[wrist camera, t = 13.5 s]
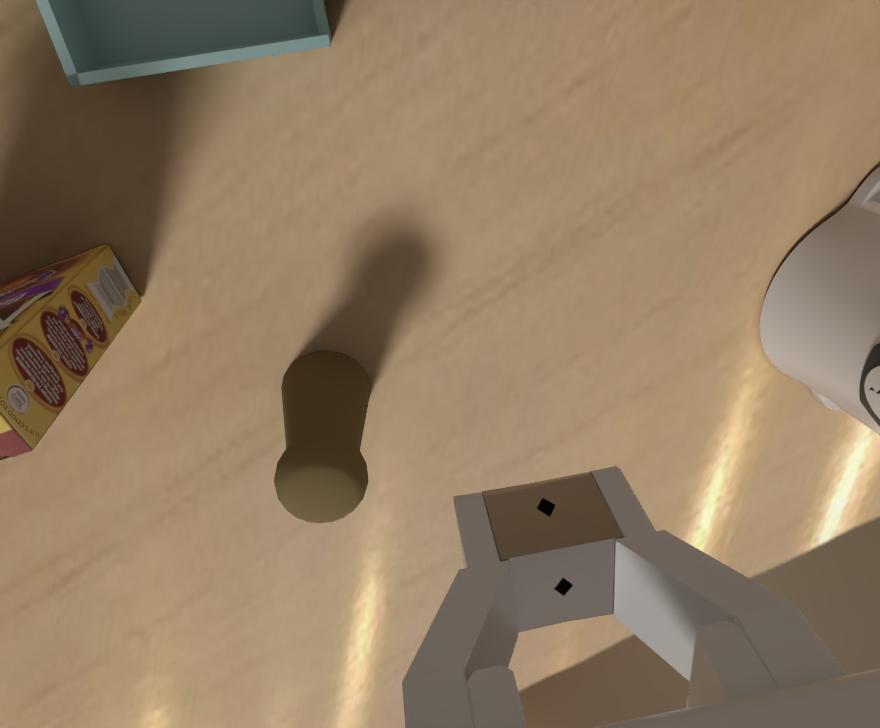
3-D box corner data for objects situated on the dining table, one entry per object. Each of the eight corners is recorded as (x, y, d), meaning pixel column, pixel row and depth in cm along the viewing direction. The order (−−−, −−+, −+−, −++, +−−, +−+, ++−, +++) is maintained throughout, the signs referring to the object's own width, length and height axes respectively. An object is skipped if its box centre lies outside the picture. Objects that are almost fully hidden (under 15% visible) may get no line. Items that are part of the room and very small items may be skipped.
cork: (281, 348, 42) (262, 454, 32) (373, 353, 43) (380, 456, 33) (281, 423, 45) (264, 540, 35) (367, 425, 46) (372, 539, 36)
